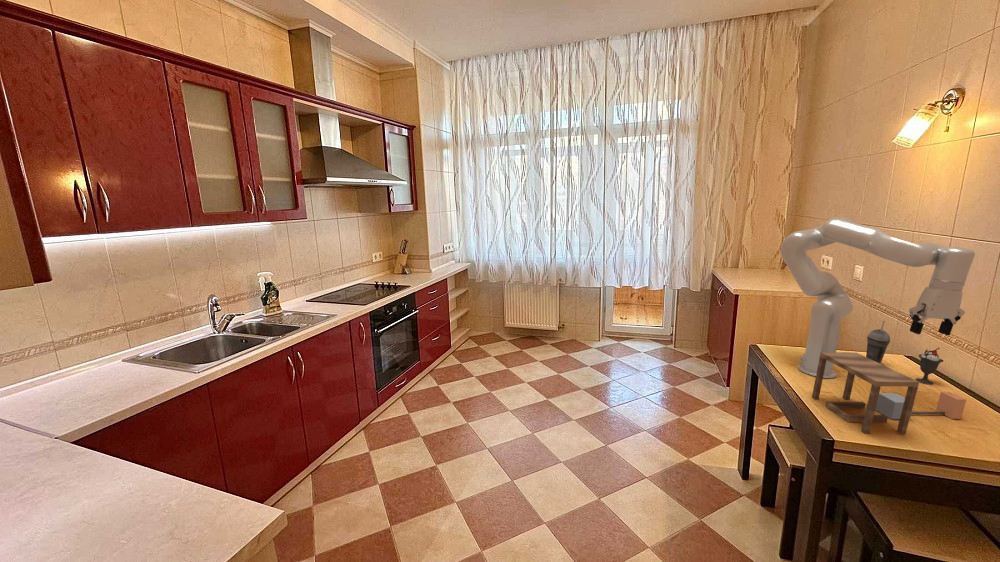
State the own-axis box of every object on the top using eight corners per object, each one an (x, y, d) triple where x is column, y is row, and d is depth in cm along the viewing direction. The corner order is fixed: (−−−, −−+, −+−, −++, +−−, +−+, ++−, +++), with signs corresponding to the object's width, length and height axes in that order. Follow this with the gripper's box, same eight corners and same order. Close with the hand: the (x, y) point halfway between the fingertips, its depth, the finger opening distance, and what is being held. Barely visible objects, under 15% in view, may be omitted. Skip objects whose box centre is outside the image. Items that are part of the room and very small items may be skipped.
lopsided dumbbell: (874, 409, 137) (879, 390, 135) (943, 409, 137) (948, 391, 135) (891, 419, 131) (896, 399, 129) (962, 419, 131) (968, 400, 129)
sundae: (933, 387, 152) (943, 350, 149) (909, 380, 158) (918, 344, 155) (940, 383, 155) (949, 347, 152) (916, 376, 161) (925, 341, 158)
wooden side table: (811, 397, 145) (820, 352, 141) (846, 397, 145) (856, 352, 141) (864, 433, 123) (876, 381, 120) (905, 434, 123) (919, 382, 119)
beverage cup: (880, 362, 174) (890, 318, 170) (887, 369, 168) (898, 323, 163) (858, 359, 177) (868, 316, 173) (865, 365, 171) (875, 321, 166)
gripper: (960, 282, 135) (943, 330, 140) (908, 280, 135) (893, 328, 140) (985, 289, 128) (967, 338, 132) (931, 287, 128) (914, 336, 133)
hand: (929, 333), depth 136 cm, fingers open, 9 cm apart
